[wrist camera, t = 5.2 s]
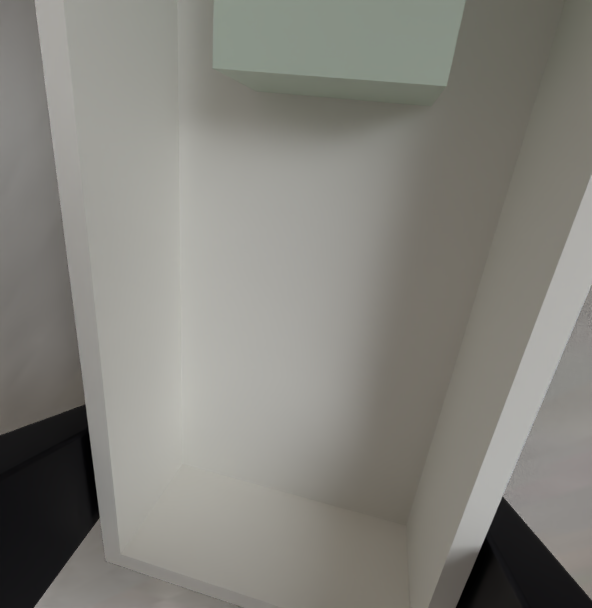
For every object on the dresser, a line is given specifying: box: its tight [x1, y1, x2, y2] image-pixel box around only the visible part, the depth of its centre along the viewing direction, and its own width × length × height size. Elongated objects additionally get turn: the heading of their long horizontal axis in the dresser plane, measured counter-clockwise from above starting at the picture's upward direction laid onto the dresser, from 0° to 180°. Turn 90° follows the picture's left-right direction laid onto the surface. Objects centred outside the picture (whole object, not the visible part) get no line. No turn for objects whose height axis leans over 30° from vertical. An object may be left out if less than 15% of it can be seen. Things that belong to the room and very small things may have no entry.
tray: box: [35, 0, 592, 608], centre depth 6 cm, size 7×16×3 cm, turn 174°
